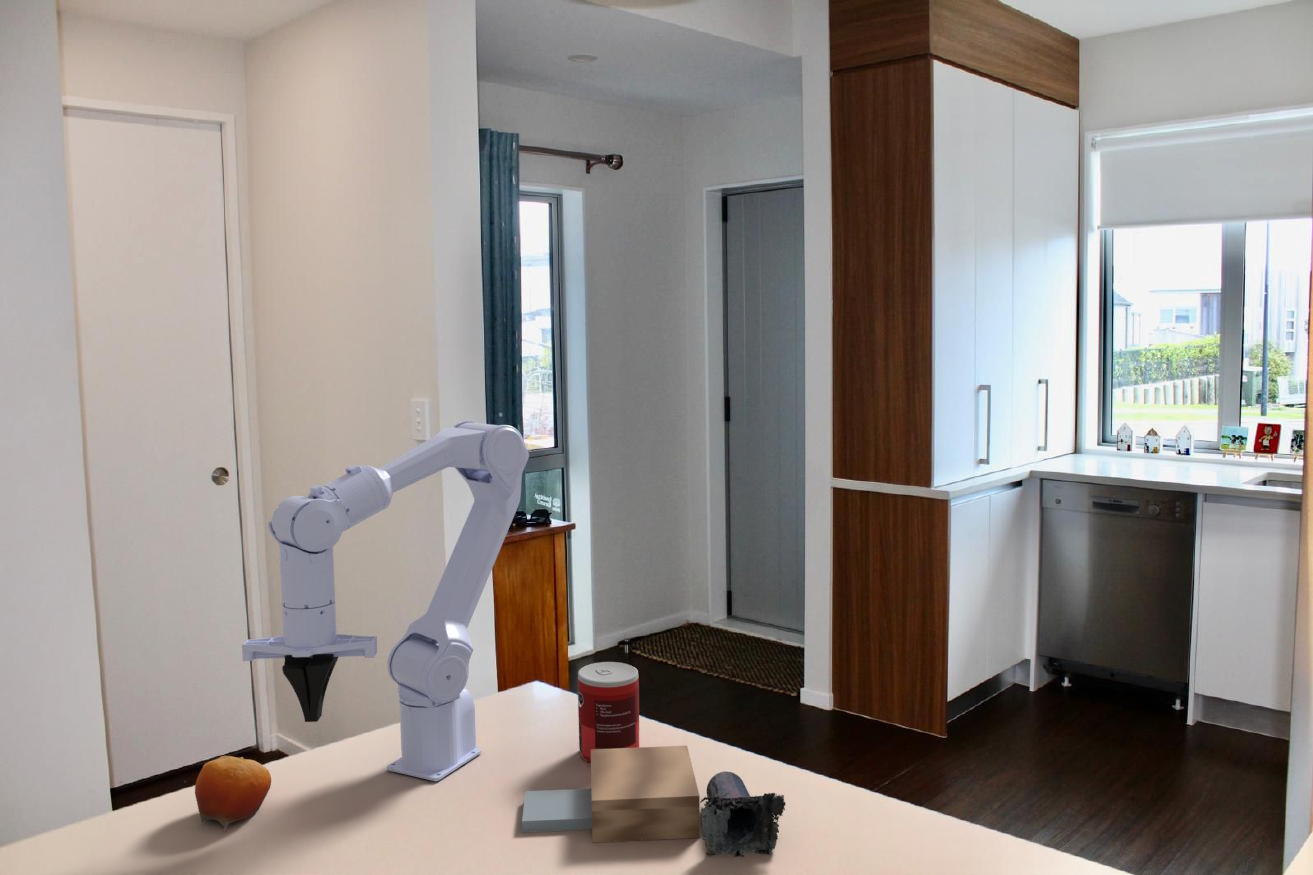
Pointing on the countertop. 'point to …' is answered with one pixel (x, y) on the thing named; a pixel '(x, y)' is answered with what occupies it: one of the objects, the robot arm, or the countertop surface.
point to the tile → (557, 810)
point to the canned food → (608, 707)
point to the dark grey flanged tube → (739, 817)
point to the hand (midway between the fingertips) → (313, 718)
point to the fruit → (231, 789)
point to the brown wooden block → (643, 794)
